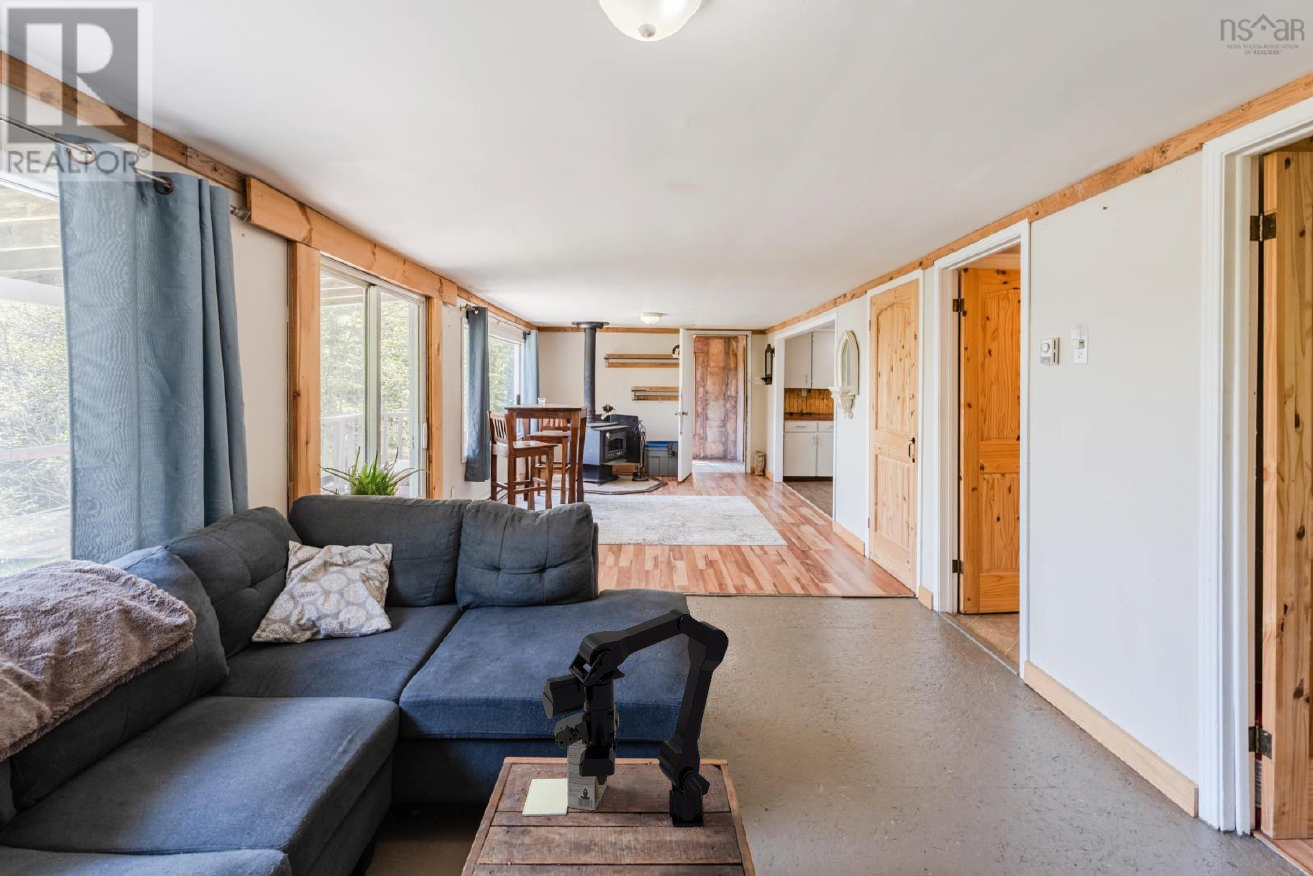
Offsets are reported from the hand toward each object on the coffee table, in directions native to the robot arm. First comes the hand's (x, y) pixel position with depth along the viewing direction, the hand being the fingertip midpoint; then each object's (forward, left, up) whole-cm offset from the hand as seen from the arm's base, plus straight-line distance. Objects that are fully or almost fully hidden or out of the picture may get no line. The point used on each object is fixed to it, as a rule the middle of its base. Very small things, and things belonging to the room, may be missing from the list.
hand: (601, 784), depth 112 cm
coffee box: (+4, -16, -13) cm, 21 cm away
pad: (+12, -16, -13) cm, 24 cm away
